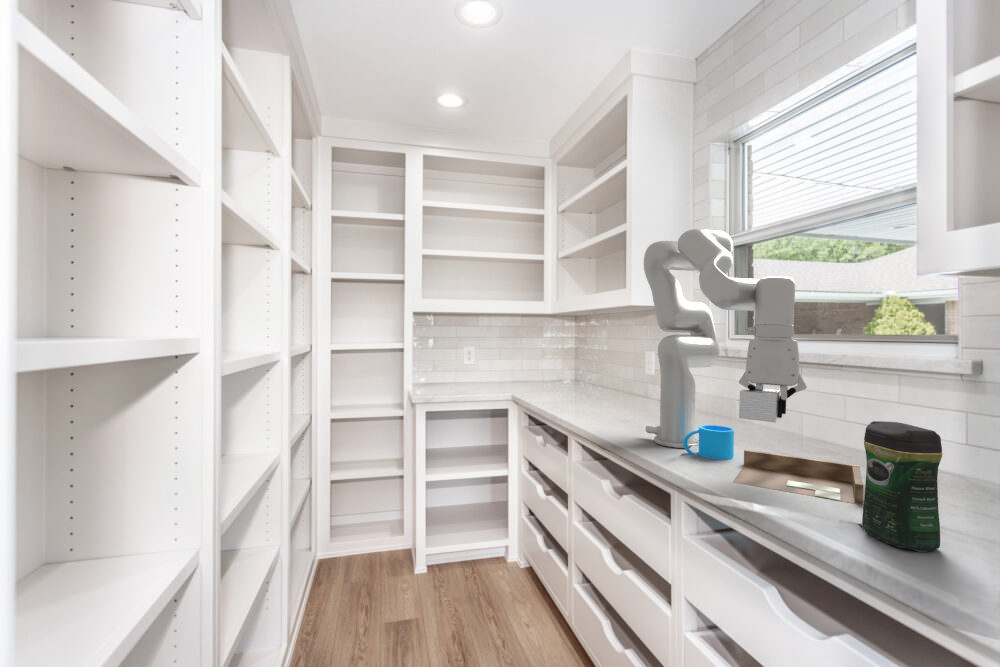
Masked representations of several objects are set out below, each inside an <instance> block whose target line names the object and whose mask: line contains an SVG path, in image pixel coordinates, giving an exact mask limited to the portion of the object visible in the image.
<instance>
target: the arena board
mask: <svg viewBox="0 0 1000 667" xmlns="http://www.w3.org/2000/svg"><path fill="white" fill-rule="evenodd" d="M732 483H735V484H741V485H746V486H753V487H757V488H763V489H768V490H774V491H780V492H781V491H782V492H787V493H791V494H792V493H793V494H798V495H804V496H810V497H814V498H819V499H820V498H821V499H827V500H831V501H838V502H842V503H843V502H844V503H849V504H854V505H855V504H856V505H859V506H861V505H862V506H863V505H864V503H863V504H860V503H855V500H854V493H853V487H852V482H848V481H842V480H835V479H829V478H822V477H816V476H809V475H803V474H797V473H790V472H784V471H777V470H771V469H765V468H758V467H752V466H745V465H744V464H743V466H742V467H741V469H740V470H739V472H738V473H737V475H736V476H735V478H734V479H733V481H732Z"/></svg>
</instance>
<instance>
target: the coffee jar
mask: <svg viewBox="0 0 1000 667" xmlns="http://www.w3.org/2000/svg"><path fill="white" fill-rule="evenodd" d="M864 432H865V433H864V439H863V445H864V451H865V456H866V470H865V473H866V474H865V485H864V487H865V488H864V496H863V504H864V505H862V517H861V518H862V520H861V526H862V529H863V530H864V531H865V532H867V534H870V535H871V536H873V537H874V538H877V539H879V540H880V541H883V542H884V543H887V544H889V545H891V546H893V547H897V548H899V549H900V548H901V549H906V550H907V549H908V550H913V551H914V552H922V553H923V552H925V553H927V552H930V551H933V550H938V549H939V548H941V526H940V514H939V491H938V489H939V487H938V485H939V484H938V475H939V473H938V472H939V465H940V463H941V461H942V458H943V447H942V438H941V436H940V435H939V434H938V433H937V432H936V431H935V430H932V429H929V428H923V427H920V426H917V425H911V424H907V423H905V422H904V423H902V422H897V421H881V420H879V421H875V420H874V421H871V422H870V423H869V424H867V425H866V428H865V431H864Z"/></svg>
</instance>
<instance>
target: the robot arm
mask: <svg viewBox="0 0 1000 667" xmlns="http://www.w3.org/2000/svg"><path fill="white" fill-rule="evenodd" d="M732 251H733V240H732V238H731V236H730V235H729V234H728V233H726V232H725V231H722V230H714V229H713V230H711V229H700V228H694V229H690V230H687V231H684V232H683V233H682V234H681V235H680V236H679V238H678V240H677V241H676V240H660V241H655V242H652V243H651V244H650V245H649V246H648V247H647V248H646V250H645V252H644V256H643V270H644V275H645V278H646V281H647V283H648V285H649V288H650V290H651V291H650V292H651V295H652V301H653V306H654V307H653V308H654V312H655V316H656V321H657V324H658V327H659V328H660V330H662V331H663V332H668V333H685V334H669V335H667V336H665V337H662V339H660V341H659V343H658V345H657V357H658V363H659V370H660V400H659V403H660V404H659V405H660V406H659V411H660V413H659V425H657V426H653V425H646V426H645V433H647V434H654V435H656V436H654V437H653V441H654V442H653V443H656V444H658V445H660V446H665V447H668V448H669V447H670V448H677V449H685V448H684V444H683V442H684V438H685V437H686V435H687V434H689V433H690V432H692V431H695V430H696V429H695V427H696V425H695V424H696V423H695V422H696V381H695V378H694V376H693V374H692V372H691V371H690V368H698V369H700V368H701V369H702V368H711V367H713V366H715V365H716V364H717V363H718V362H719V358H720V354H721V353H720V344H719V339H718V335H717V330H716V326H715V322H714V316H713V314H712V312H711V309H710V308H709V306H708V305H707V304H705V303H703V302H701V301H693V300H686V299H685V298H684V295H683V292H682V287H681V284H680V283H679V281H678V279H677V278H676V277H675V276H674V274H672V273H671V271H672V270H673V271H687V272H689V271H690V272H693V271H698V273H699V277H698V280H699V281H698V283H699V284H698V285H699V288H700V291H701V292H702V294H703V295H704V296H705V297H706V298H707V299H708V300H709V301H710V303H712V304H713V306H716V307H717V308H719V309H722V310H724V311H725V310H726V311H745V312H747V311H748V312H755V313H754V325H753V326H751V327H750V326H749V327H747V328H746V332H747V334H750V335H753V337H754V338H750V339H749V342H748V347H747V354H746V363H745V371H744V373H743V374H742V376H741V377H740V379H739V381H738V384H739V385H741V386H743V387H745V388H747V390H754V391H763V390H764V385H767V386H768V385H769V386H779V390H780V397H779V400H778V419H782V418H783V415H786V414H787V399H789V398H790V397H791V396H793V395H794V394H795V393H798V392H801V391H804V390H806V389H807V387H808V386H807V384H806V383H805V381H804V379H803V377H802V375H801V374H800V352H799V344H798V340H796V339H794V327H795V326H794V325H795V324H794V323H795V301H796V298H795V297H796V282H795V280H794V279H793V278H792V277H789V276H767V277H765V276H764V277H762V278H759V279H757V278H743V277H729V276H728V275H726V274H727V273H728V272H729V271H730V269H731V268H732V266H733V256H732V255H733V254H731V253H732ZM686 333H688V334H686ZM788 387H790V388H788ZM687 445H688V448H689V449H691V448H692V447H698V448H699V439H697V438H695V434H693V435H692V436H691V437H690V438H689V439H688V442H687Z"/></svg>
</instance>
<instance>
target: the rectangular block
mask: <svg viewBox="0 0 1000 667" xmlns="http://www.w3.org/2000/svg"><path fill="white" fill-rule="evenodd" d="M780 396H781V392H780V389H770V388H763V391H754V390H749V389H741V390H739V409H738V419H742V420H751V421H760V422H767V423H775V424H776V423H777V421H778V419H779V418H778V400H779V397H780Z"/></svg>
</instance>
